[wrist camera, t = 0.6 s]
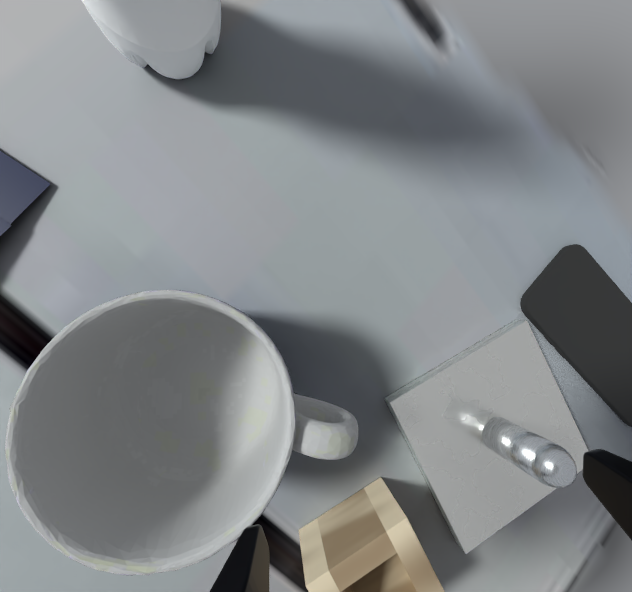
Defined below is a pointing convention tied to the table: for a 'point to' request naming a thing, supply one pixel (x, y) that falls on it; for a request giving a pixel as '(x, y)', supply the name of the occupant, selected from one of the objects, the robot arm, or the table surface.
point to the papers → (16, 190)
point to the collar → (365, 547)
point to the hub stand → (490, 432)
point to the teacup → (159, 432)
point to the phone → (586, 324)
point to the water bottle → (160, 31)
